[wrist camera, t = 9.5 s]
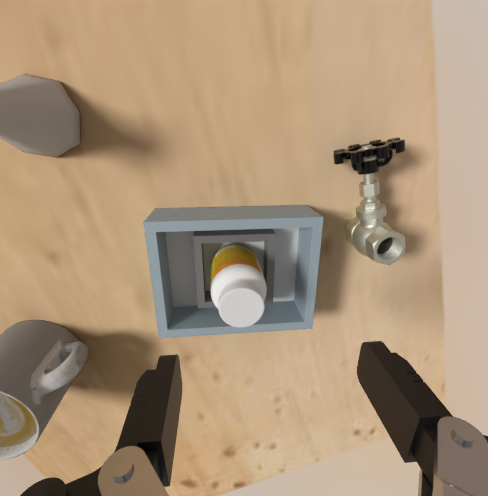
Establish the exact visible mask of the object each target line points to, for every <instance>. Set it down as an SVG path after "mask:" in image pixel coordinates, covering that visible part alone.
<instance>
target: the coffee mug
mask: <svg viewBox="0 0 488 496" xmlns="http://www.w3.org/2000/svg"><path fill="white" fill-rule="evenodd" d="M87 357H88V349H87V347H86V345H85V344H84V343H82V342H79V341H78V339H77V338H76V337H75V336H74V335H73V334H72V333H71V332H70V331H68V330H67V329H65V328H64V327H62V326H60V325H58V324H55V323H52V322H48V321H43V320H28V321H22V322H19V323H16V324H14V325H12V326H11V327H9V328H8V329H7V330H6V331H5V332H3V333H2V334H1V335H0V460H5V459H10V458H14V457H17V456H19V455H21V454H23V453H25V452H26V451H28V450H29V449H30V448H31V447H32V446H33V445H34V444H35V443H36V442H37V440H38V439H39V437H40V435H41V434H42V432H43V430H44V429H45V427H46V425H47V424H48V422H49V420H50V418H51V417H52V415H53V413H54V412H55V410H56V408H57V407H58V405H59V403H60V402H61V400H62V398H63V396H64V395H65V393H66V391H67V390H68V388H69V386H70V385H71V383H72V381H73V380H74V378H75V376H76V375H77V374H78V372H79V371H80V370H81V368H82V367H83V365H84V364H85V362H86V360H87Z"/></svg>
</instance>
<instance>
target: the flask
mask: <svg viewBox="0 0 488 496" xmlns="http://www.w3.org/2000/svg"><path fill="white" fill-rule="evenodd" d="M0 139H2V140H4V141H6V142H7V143H9V144H11V145H12V146H14V147H16V148H17V149H19V150H21V151H23V152H26V153H32V154H38V155H44V156H50V157H58V156H59V155H61V154H63V153H65V152H66V151H68V150H70V149H72V148H73V147H75V146H77V145H79V144H80V112H79V111H78V109H77V107H76V106H75V104H74V103H73V101H72V100H71V98H70V97H69V95H68V94H67V92H66V91H65V89H64V88H63V86H62V85H61V83H60V82H59V81H57V80H52V79H47V78H42V77H37V76H33V75H28V74H23V75H20V76H17V77H15V78H13V79H10V80H8V81H5V82H2V83H0Z"/></svg>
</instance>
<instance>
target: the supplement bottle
mask: <svg viewBox="0 0 488 496" xmlns="http://www.w3.org/2000/svg"><path fill="white" fill-rule="evenodd" d="M266 294H267V286H266V282H265V279H264V276H263V273H262V270H261V268H260V265H259V262H258V259H257V257H256V254H255V253H254V251H253V250H252V249H251V248H250V247H249V246H247V245H245V244H243V243H239V242H231V243H227V244H225V245H223V246H221V247H220V248H219V249H218V250H217V251H216V252H215V253H214V255H213V258H212V262H211V298H212V301H213V303H214V305H215V306H216V307H217V309H218V310H219V314H220V316H221V318H222V319H223V321H224V322H226V323H227V324H228V325H231V326H233V327H247V326H250V325H253V324H254V323H256V322H257V321H258V320H259V319H260V318H261V316H262V315H263V312H264V307H265V305H264V300H265V298H266Z"/></svg>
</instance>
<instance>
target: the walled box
mask: <svg viewBox="0 0 488 496" xmlns="http://www.w3.org/2000/svg"><path fill="white" fill-rule="evenodd" d="M323 219H324V217H323V216H321V215H320V214H319V213H317V212H316V211H314V210H313V209H312V208H310V207H309V206H307V205H282V206H240V207H197V208H155V209H154V211H153V212H152V213H151V214H150V215H149V216H148V217H147V219H146V220H145V221H144V222H143V223H144V230H145V238H146V245H147V252H148V260H149V267H150V275H151V282H152V289H153V297H154V304H155V312H156V319H157V326H158V334H159V338H173V337H188V336H204V335H220V334H236V333H251V332H267V331H283V330H299V329H312V327H313V317H314V307H315V297H316V288H317V278H318V268H319V258H320V248H321V238H322V229H323ZM231 242H239V243H243V244H245V245H247V246H249V247H250V248H251V249H252V250H253V251H254V253H255V254H256V257H257V259H258V262H259V265H260V268H261V270H262V273H263V276H264V279H265V282H266V286H267V294H266V298H265V300H264V305H265V307H264V312H263V315H262V316H261V318H260V319H259V320H258V321H257V322H256V323H254V324H253V325H250V326H247V327H233V326H231V325H228V324H227V323H226V322H224V321H223V319H222V318H221V316H220V314H219V310H218V309H217V307H216V306H215V305H214V303H213V301H212V298H211V262H212V258H213V255H214V253H215V252H216V251H217V250H218V249H219V248H220V247H221V246H223V245H225V244H227V243H231Z"/></svg>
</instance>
